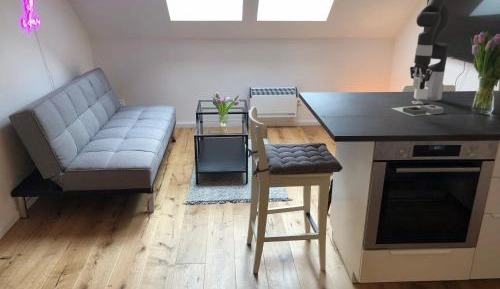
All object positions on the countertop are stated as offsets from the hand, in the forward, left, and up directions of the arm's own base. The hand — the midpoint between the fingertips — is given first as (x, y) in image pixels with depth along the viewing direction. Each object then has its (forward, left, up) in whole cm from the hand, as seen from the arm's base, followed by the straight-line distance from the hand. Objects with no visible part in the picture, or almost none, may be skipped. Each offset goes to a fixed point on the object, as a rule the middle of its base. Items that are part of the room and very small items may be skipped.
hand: (418, 88), depth 208 cm
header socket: (0, 0, -13) cm, 13 cm away
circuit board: (-4, -3, -14) cm, 15 cm away
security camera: (-18, -17, -14) cm, 29 cm away
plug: (0, 0, 0) cm, 0 cm away
